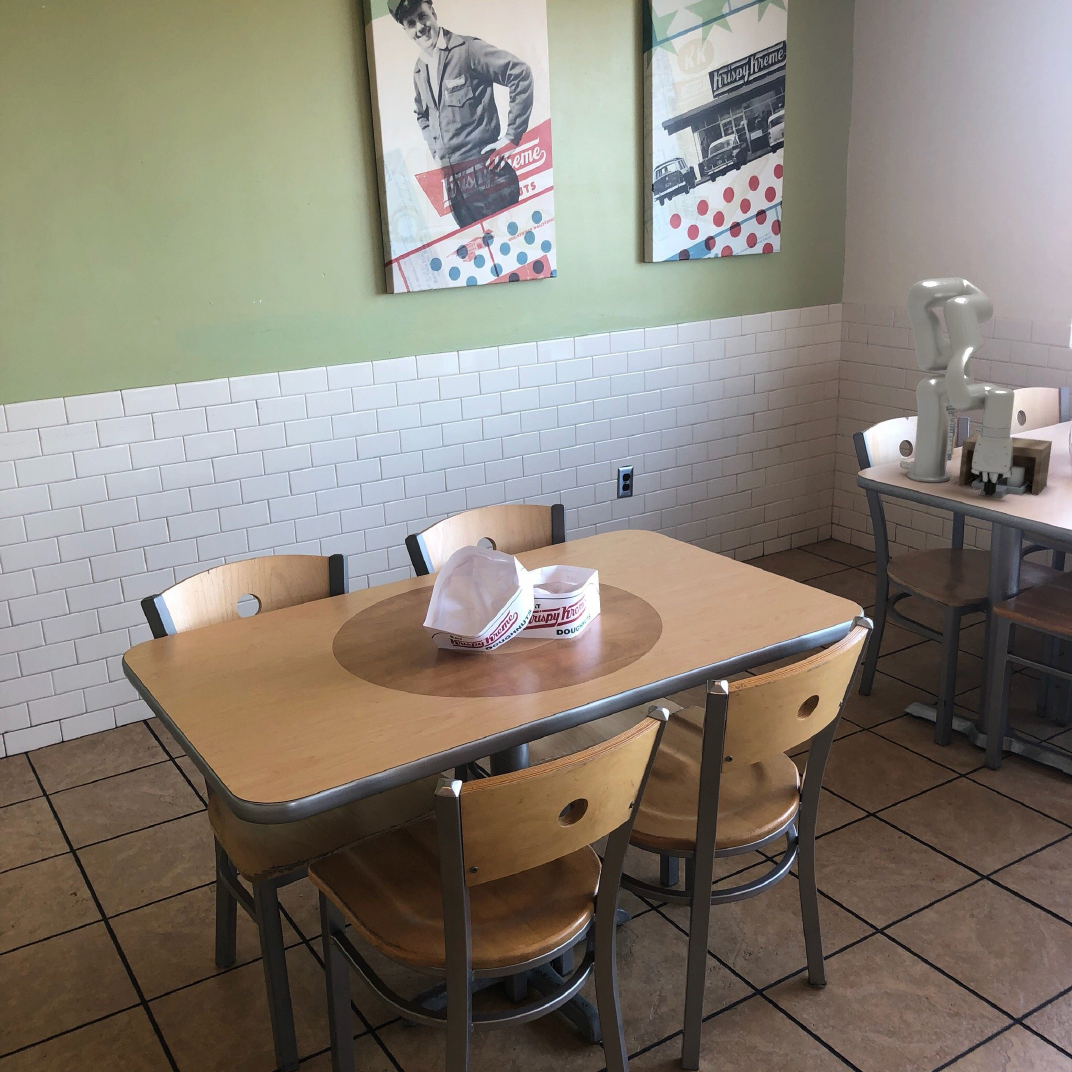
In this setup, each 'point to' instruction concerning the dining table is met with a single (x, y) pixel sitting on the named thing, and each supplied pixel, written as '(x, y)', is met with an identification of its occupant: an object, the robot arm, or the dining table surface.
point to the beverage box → (951, 430)
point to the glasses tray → (1006, 483)
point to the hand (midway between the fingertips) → (989, 494)
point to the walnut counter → (1014, 460)
